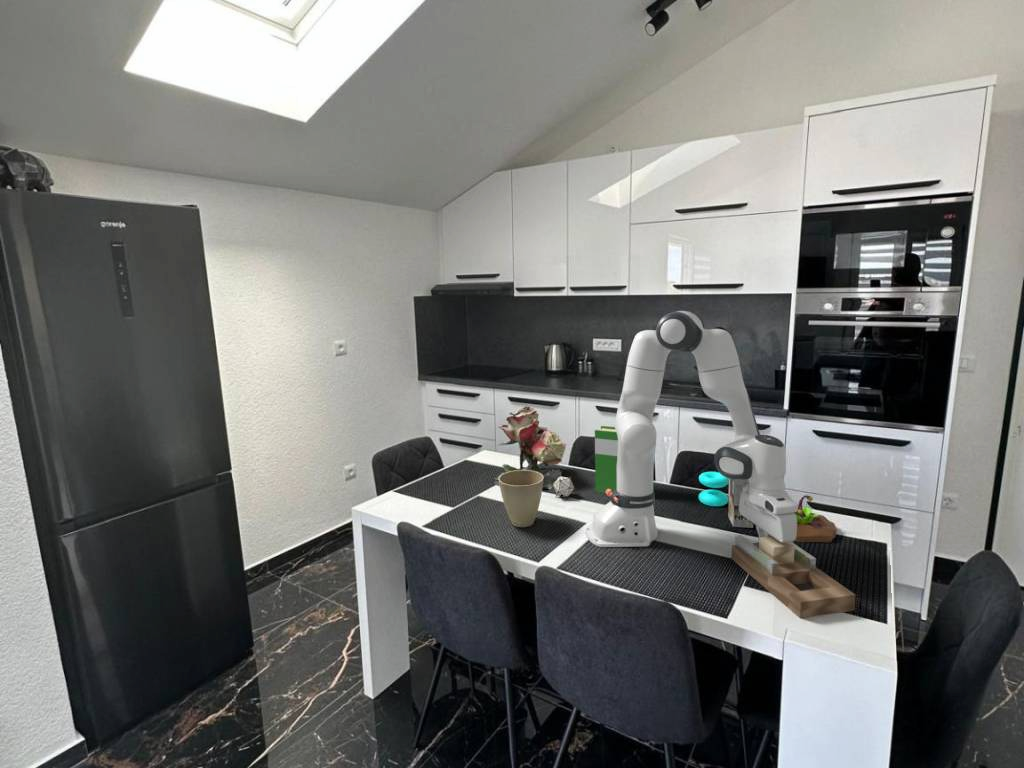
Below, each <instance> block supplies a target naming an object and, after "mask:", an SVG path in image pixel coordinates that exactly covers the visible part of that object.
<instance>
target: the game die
mask: <svg viewBox="0 0 1024 768" xmlns="http://www.w3.org/2000/svg"><path fill="white" fill-rule="evenodd" d="M553 483H554V484H550V485H553V487H552V488H553V489H554V491H555V497H556V498H557V497H558V496H559V497H565V498H567V500H569V496H570V495H571V494H572V493H573V491H574V490H577V488H576V487H575V486H574V484H573V482H572V476H570V477H566V476H562V475H561V476H560V475H559V478H558V479H557V480H556V481H555V482H553ZM561 495H563V496H561ZM566 496H567V497H566Z"/></svg>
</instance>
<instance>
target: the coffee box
mask: <svg viewBox="0 0 1024 768" xmlns="http://www.w3.org/2000/svg"><path fill="white" fill-rule="evenodd" d="M745 485H749V480H747V479H744V480H741V479H729V483H728V499H729V500H728V503H727V504H728V506H727V509H728V511H727V512H728V513H727V516H728V519H729V521H730V523H731V525H732V527H733V528H734V527H735V528H747V529H752V528H754V525H755V524H754V523H752V522H751V521H749V520H748V519H747V518H745V517H744V516H742V515H741V514H740V512H739V502H740V496H741V493H742V492H743V487H744V486H745Z"/></svg>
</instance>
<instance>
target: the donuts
mask: <svg viewBox="0 0 1024 768" xmlns="http://www.w3.org/2000/svg"><path fill="white" fill-rule="evenodd" d="M698 481H699V482H700V484H702V485H703V486H705V487H708V488H712V489H705V490H702V491H701V492H699V494H698V500H699V501H700V503H702V504H703V505H706V506H710V507H723V506H725V505H726V504H728V500H729V495H727V494H726V493H725V492H723V491H721V490H718V489H720V488H724V487H726V486H727V485H729V478H726V477H724V476H723V475H721V474H720V473H719V472H718V471H706V472H705V471H704V472H702V473H701V474H700V475H699V476H698Z"/></svg>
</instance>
